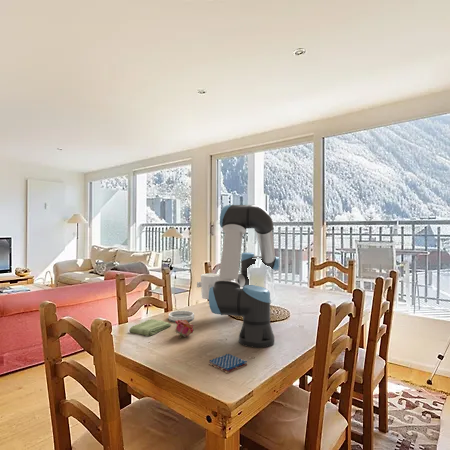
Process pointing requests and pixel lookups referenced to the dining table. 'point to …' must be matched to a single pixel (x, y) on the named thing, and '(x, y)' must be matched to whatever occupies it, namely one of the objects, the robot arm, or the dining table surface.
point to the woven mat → (227, 362)
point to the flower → (183, 328)
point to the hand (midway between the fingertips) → (202, 286)
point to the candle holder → (207, 283)
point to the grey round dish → (181, 316)
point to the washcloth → (149, 327)
